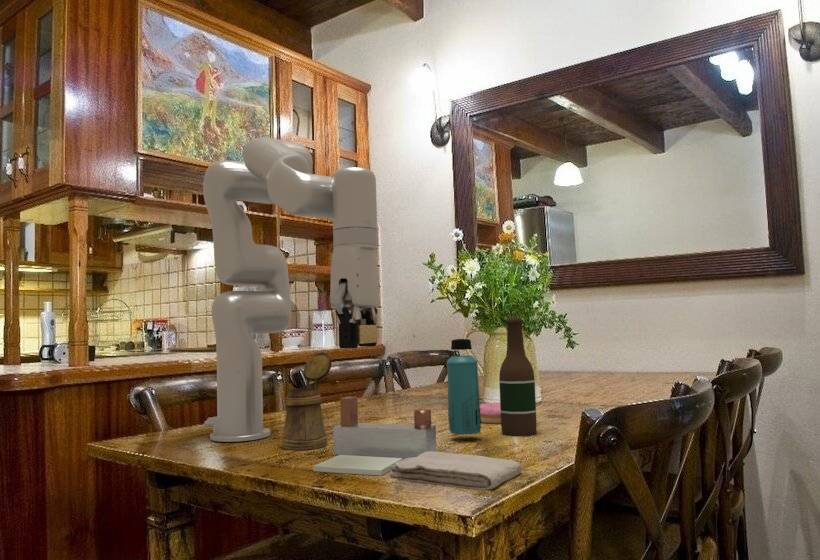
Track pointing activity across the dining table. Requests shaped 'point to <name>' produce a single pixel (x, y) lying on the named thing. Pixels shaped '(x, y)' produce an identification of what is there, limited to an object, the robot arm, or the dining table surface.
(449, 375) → the beverage bottle
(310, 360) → the wooden utensil holder
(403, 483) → the dining table surface
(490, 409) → the doughnut
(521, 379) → the beer bottle
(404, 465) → the washcloth
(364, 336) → the beige block
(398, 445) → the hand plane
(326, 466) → the mat
